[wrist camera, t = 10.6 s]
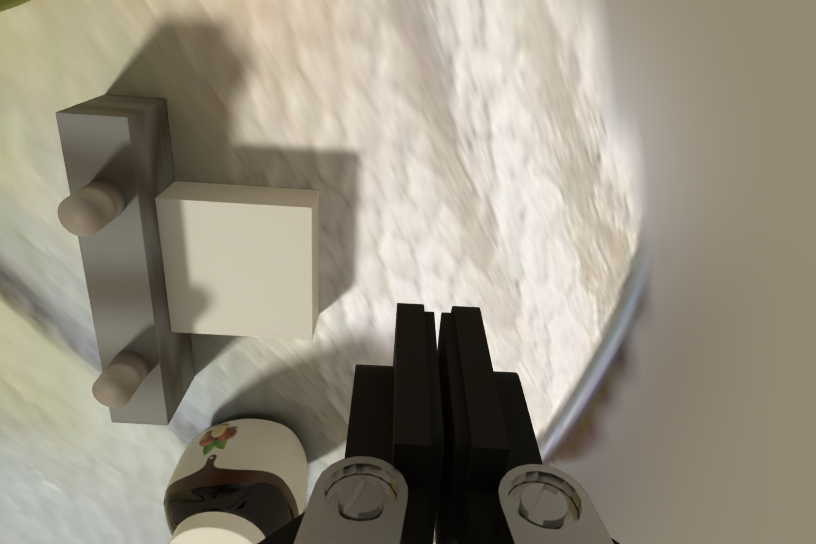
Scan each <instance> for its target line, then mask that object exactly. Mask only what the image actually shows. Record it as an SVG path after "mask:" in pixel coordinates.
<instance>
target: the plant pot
mask: <svg viewBox="0 0 816 544" xmlns="http://www.w3.org/2000/svg"><path fill="white" fill-rule="evenodd" d="M28 1H30V0H0V12H1V11H4V10H7V9H10V8H13V7H16V6H18V5H21V4H23V3H26V2H28Z"/></svg>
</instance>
